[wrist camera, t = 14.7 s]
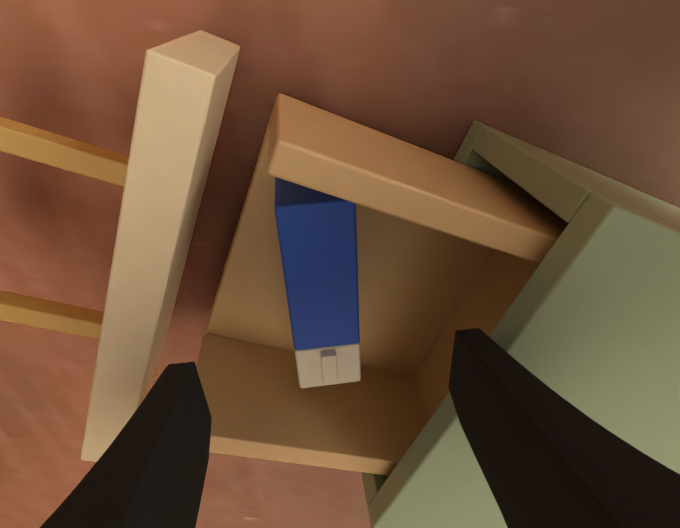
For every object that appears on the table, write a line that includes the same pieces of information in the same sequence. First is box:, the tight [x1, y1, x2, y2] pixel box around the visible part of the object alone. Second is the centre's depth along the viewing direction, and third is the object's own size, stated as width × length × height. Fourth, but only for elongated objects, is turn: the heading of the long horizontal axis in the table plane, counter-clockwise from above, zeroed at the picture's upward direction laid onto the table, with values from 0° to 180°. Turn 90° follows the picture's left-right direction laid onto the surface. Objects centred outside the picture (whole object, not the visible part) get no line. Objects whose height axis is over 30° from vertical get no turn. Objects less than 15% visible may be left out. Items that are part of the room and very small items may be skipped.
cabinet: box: [362, 121, 680, 528], centre depth 17 cm, size 14×13×8 cm
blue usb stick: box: [274, 177, 361, 388], centre depth 14 cm, size 7×2×3 cm, turn 3°
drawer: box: [0, 30, 569, 476], centre depth 13 cm, size 18×12×6 cm, turn 68°
